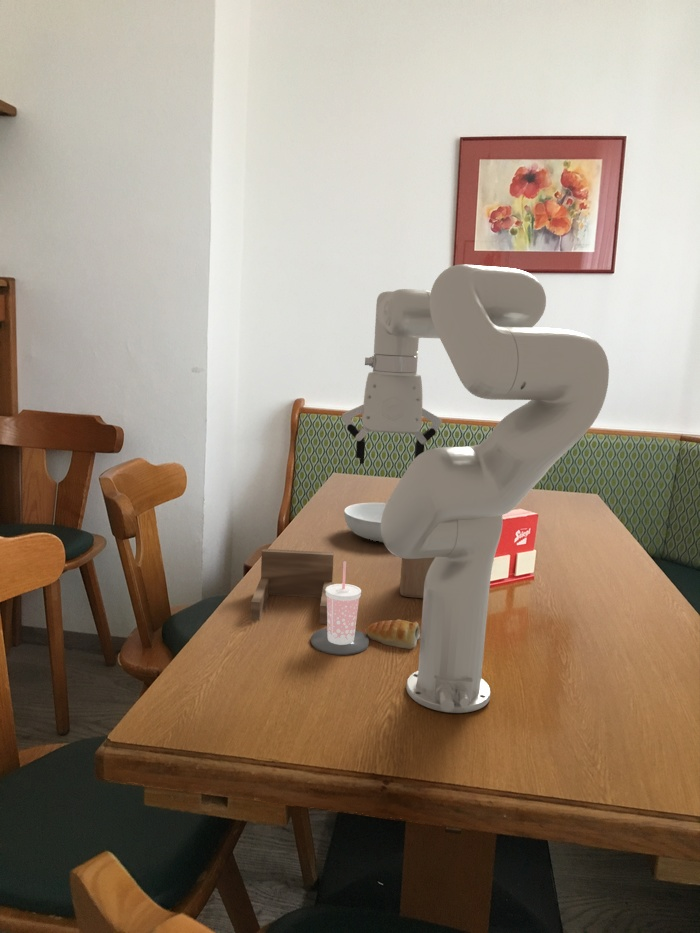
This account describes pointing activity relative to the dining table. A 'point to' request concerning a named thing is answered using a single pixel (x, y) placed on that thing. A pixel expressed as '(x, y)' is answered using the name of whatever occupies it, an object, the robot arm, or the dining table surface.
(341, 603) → the beverage cup
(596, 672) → the dining table surface
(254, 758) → the dining table surface
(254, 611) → the rack
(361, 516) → the serving bowl
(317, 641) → the coaster
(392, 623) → the pastry
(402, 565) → the block
